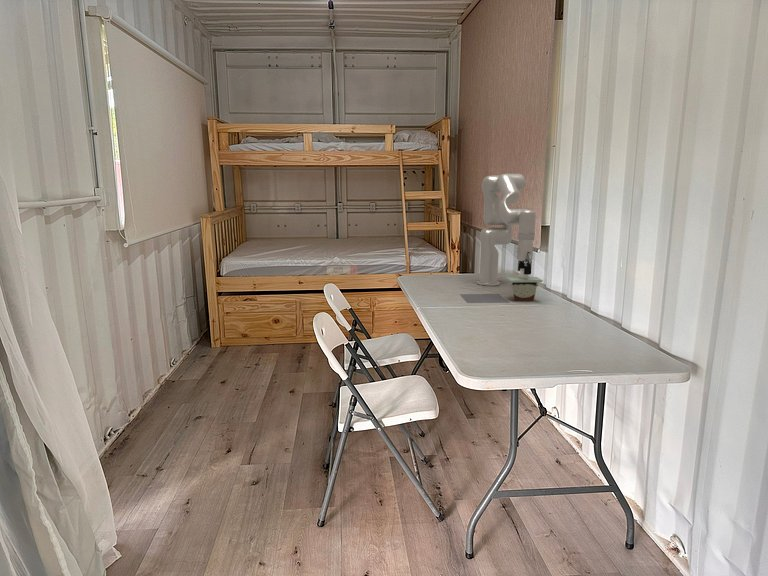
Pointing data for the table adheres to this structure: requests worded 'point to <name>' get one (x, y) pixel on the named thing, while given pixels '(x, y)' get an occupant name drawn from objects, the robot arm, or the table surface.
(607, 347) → the table surface
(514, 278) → the lid
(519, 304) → the table surface
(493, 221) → the robot arm
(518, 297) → the food container
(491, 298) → the mat
